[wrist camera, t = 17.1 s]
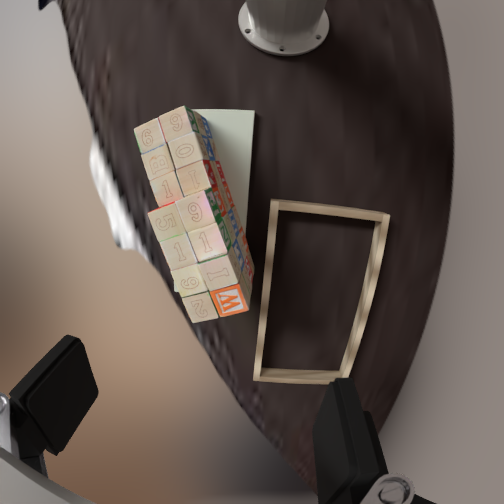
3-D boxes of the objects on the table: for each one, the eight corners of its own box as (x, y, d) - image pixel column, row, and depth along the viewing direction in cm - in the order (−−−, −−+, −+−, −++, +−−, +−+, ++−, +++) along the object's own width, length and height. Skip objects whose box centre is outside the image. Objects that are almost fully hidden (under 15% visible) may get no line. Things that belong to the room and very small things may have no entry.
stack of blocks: (164, 135, 34) (118, 124, 22) (206, 117, 33) (176, 96, 21) (214, 279, 40) (191, 325, 28) (256, 268, 39) (249, 312, 27)
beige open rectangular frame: (270, 198, 37) (270, 200, 34) (383, 212, 36) (390, 215, 34) (254, 370, 45) (253, 380, 43) (342, 374, 45) (345, 384, 42)
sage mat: (181, 111, 34) (179, 109, 33) (254, 112, 33) (254, 110, 32) (176, 288, 42) (174, 291, 41) (241, 295, 41) (240, 298, 40)
